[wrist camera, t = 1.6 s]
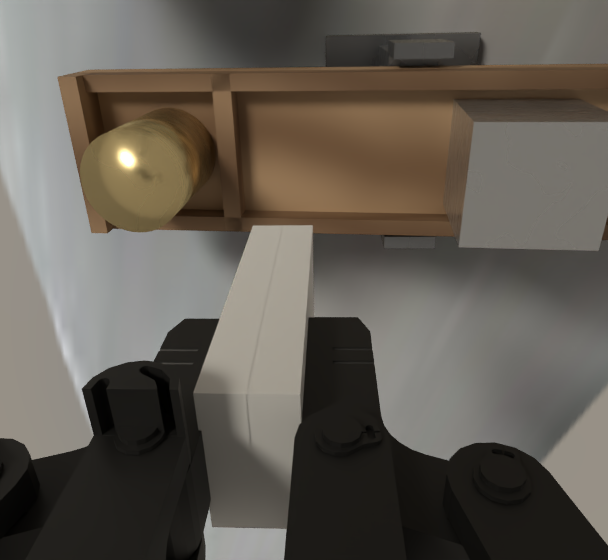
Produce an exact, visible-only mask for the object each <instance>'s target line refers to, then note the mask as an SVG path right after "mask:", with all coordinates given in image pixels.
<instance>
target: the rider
mask: <svg viewBox="0 0 608 560" xmlns="http://www.w3.org/2000/svg"><path fill="white" fill-rule="evenodd" d="M443 205H444V208H445V211H446V214H447V216H448V219H449V222H450V225H451V227H452V230H453V233H454V236H455V239H456V241H457V244H458V247H465V248H504V249H544V250H583V251H599V248H600V244H601V240H602V236H603V232H604V228H605V224H606V220H607V216H608V111H606V110H603V109H601V108H599V107H597V106H594V105H592V104H590V103H588V102H585V101H583V100H581V99H454V101H453V111H452V121H451V130H450V140H449V150H448V159H447V169H446V179H445V188H444V198H443Z"/></svg>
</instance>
